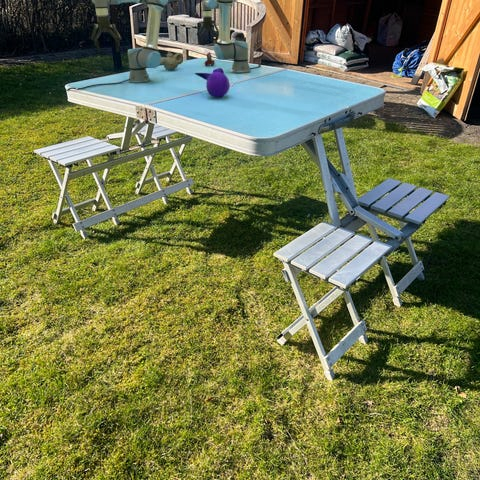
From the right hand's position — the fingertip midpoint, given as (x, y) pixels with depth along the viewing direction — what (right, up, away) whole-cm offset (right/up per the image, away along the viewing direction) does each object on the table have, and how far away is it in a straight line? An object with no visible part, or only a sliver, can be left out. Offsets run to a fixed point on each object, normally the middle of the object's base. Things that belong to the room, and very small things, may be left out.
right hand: (208, 44), depth 385 cm
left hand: (-60, -44, -90) cm, 116 cm away
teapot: (-31, -25, -8) cm, 40 cm away
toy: (+10, -74, -92) cm, 118 cm away
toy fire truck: (0, -15, +9) cm, 17 cm away
